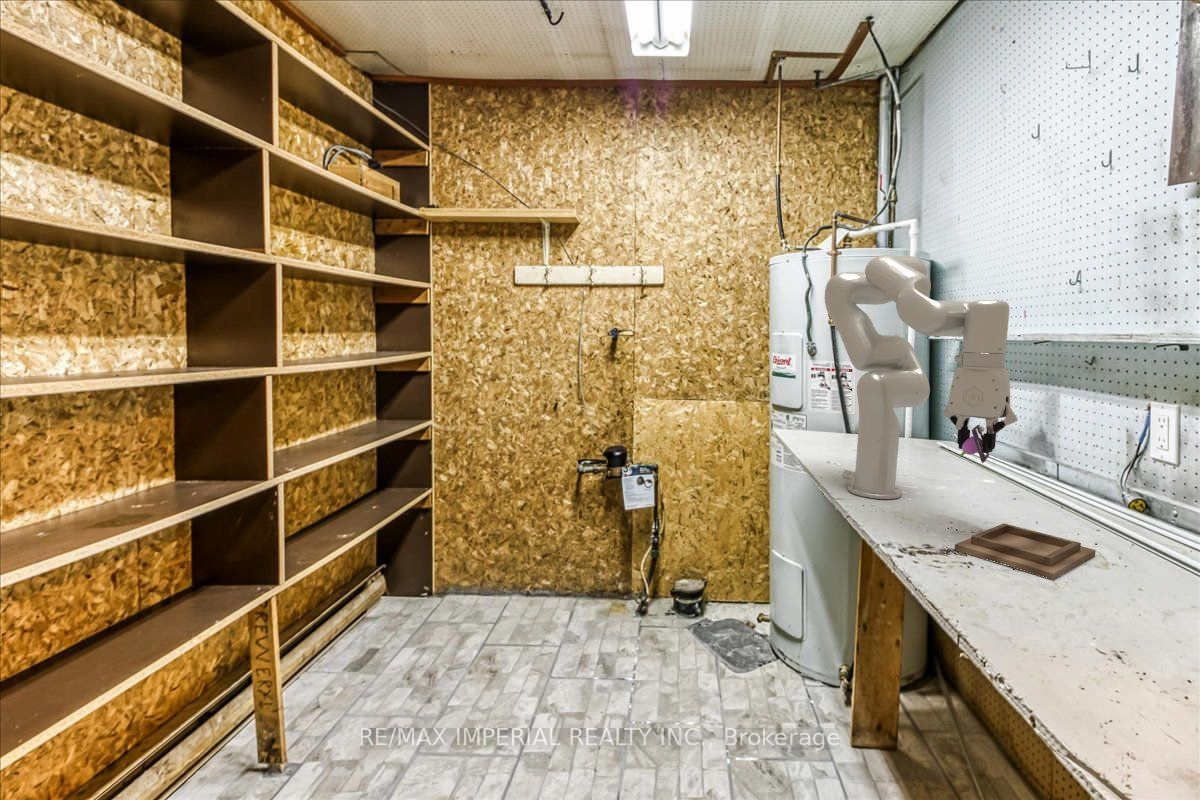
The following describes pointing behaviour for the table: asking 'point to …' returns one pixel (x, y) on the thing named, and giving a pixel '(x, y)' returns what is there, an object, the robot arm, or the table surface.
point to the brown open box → (1026, 550)
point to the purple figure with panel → (975, 444)
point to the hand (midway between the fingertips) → (975, 449)
